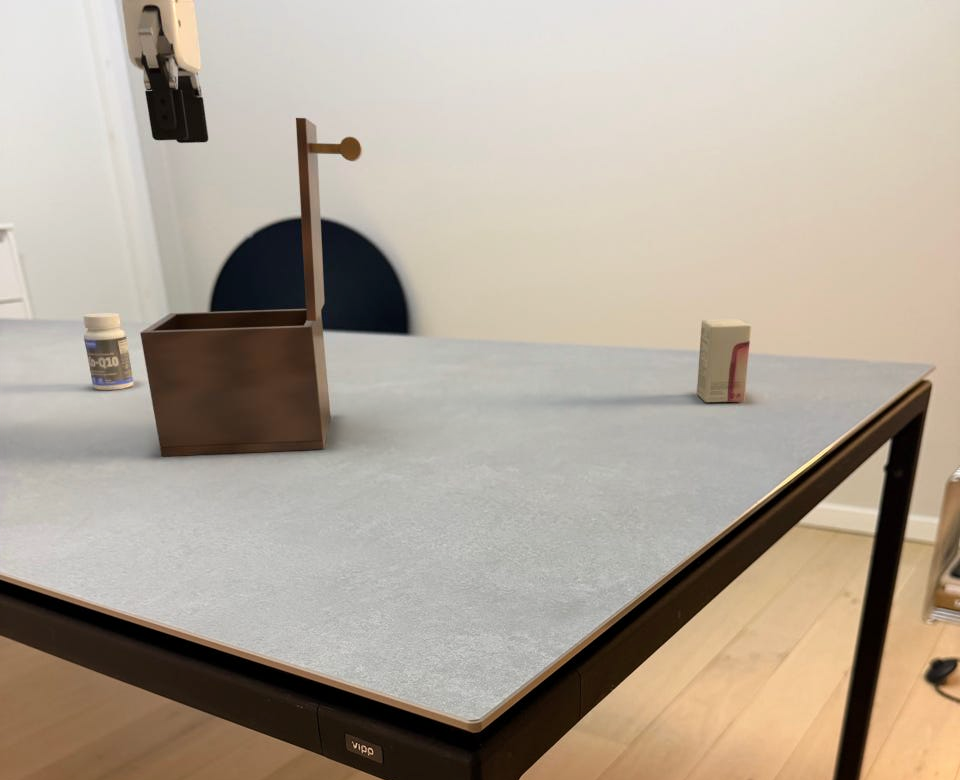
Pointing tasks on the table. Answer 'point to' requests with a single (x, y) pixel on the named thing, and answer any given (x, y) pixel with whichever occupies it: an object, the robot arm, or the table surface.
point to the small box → (723, 360)
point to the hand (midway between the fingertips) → (182, 141)
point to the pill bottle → (107, 352)
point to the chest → (237, 382)
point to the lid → (315, 206)
